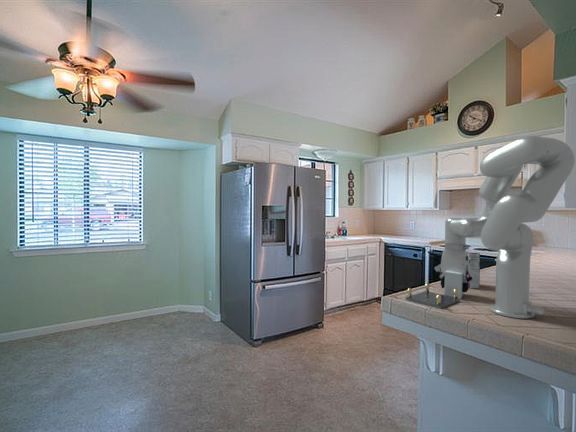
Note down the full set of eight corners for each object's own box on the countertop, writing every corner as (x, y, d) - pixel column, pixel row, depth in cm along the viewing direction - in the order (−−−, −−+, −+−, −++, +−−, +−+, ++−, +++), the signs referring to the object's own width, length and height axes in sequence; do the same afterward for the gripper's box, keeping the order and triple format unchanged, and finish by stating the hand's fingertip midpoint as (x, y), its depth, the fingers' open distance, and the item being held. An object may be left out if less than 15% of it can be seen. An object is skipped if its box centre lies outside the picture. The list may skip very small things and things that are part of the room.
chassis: (459, 301, 122) (460, 289, 122) (440, 308, 113) (440, 296, 112) (425, 293, 133) (425, 282, 133) (405, 299, 124) (405, 288, 124)
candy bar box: (456, 282, 152) (456, 249, 151) (466, 282, 152) (467, 249, 151) (468, 288, 141) (469, 252, 140) (480, 288, 140) (480, 252, 140)
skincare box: (461, 299, 124) (462, 273, 123) (443, 297, 127) (444, 271, 127) (463, 293, 132) (464, 269, 132) (446, 291, 136) (447, 267, 136)
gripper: (481, 249, 124) (480, 292, 125) (438, 244, 138) (437, 284, 139) (473, 250, 120) (472, 296, 120) (429, 246, 134) (429, 286, 134)
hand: (454, 289), depth 130 cm, fingers closed on skincare box, 7 cm apart
